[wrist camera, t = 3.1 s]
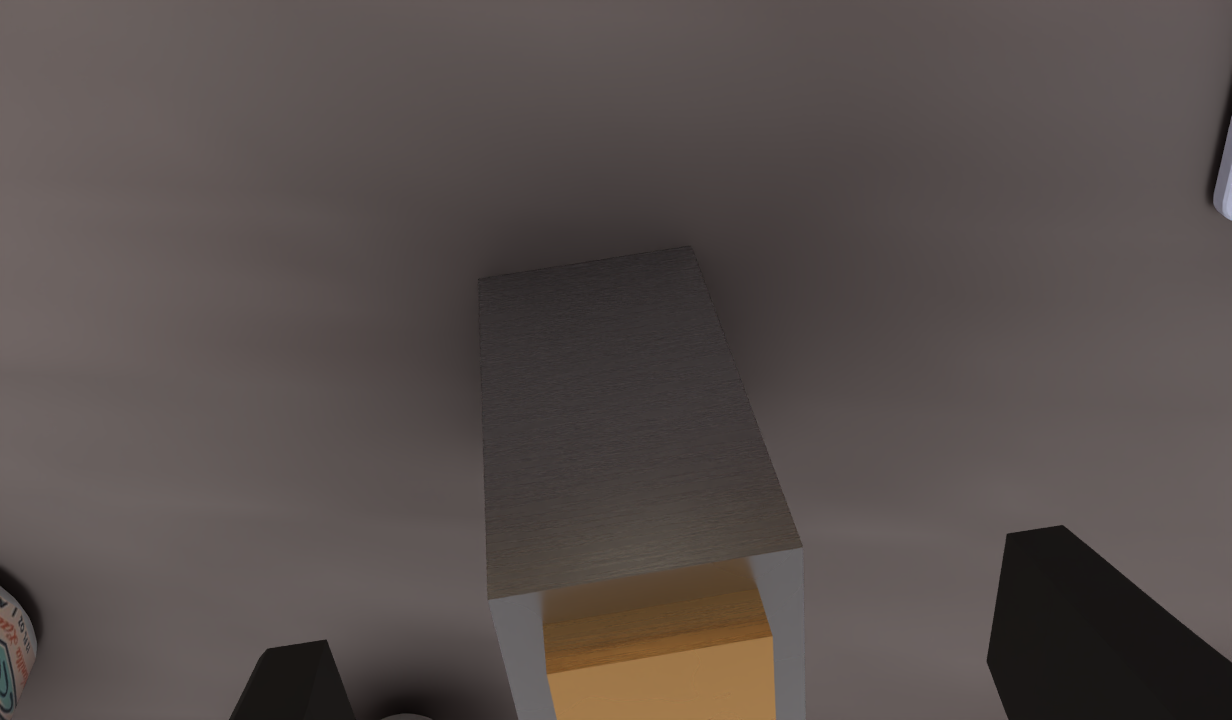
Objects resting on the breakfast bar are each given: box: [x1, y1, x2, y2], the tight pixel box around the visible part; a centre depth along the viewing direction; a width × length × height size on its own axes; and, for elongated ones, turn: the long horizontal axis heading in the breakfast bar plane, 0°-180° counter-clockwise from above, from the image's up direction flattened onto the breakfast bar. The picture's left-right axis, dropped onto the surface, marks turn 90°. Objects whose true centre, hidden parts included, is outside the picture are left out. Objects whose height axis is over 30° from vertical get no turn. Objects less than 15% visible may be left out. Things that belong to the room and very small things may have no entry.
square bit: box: [478, 246, 806, 720], centre depth 18 cm, size 4×4×9 cm
